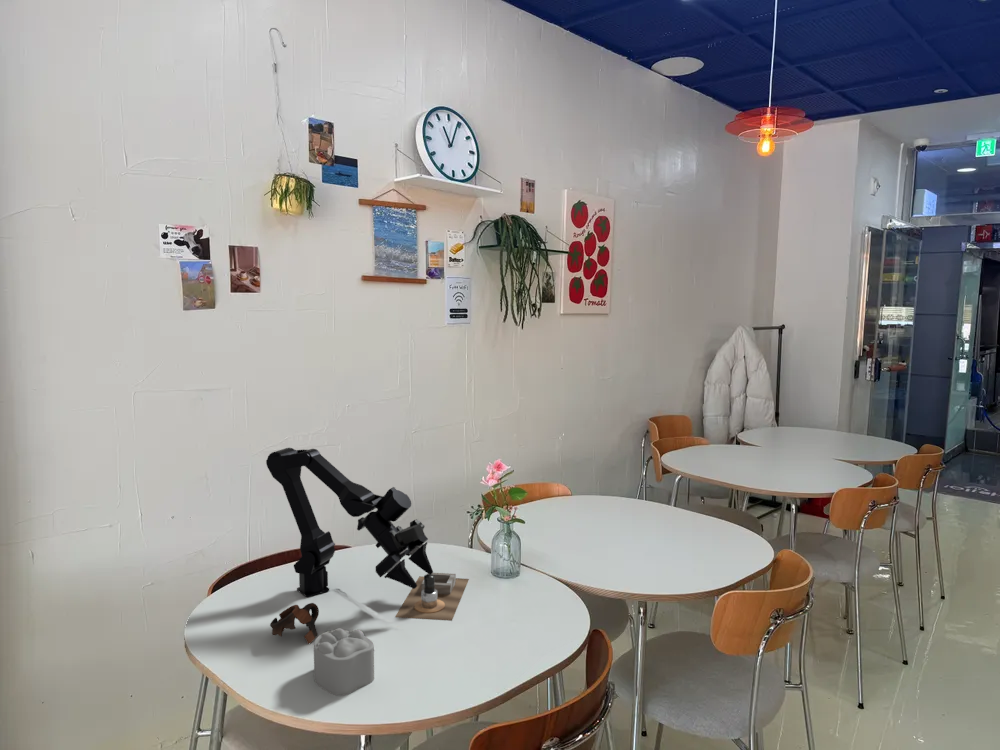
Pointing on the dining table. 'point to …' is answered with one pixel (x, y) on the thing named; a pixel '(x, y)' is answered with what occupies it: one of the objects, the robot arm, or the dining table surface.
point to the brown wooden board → (447, 598)
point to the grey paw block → (343, 661)
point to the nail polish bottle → (429, 592)
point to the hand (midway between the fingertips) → (424, 580)
